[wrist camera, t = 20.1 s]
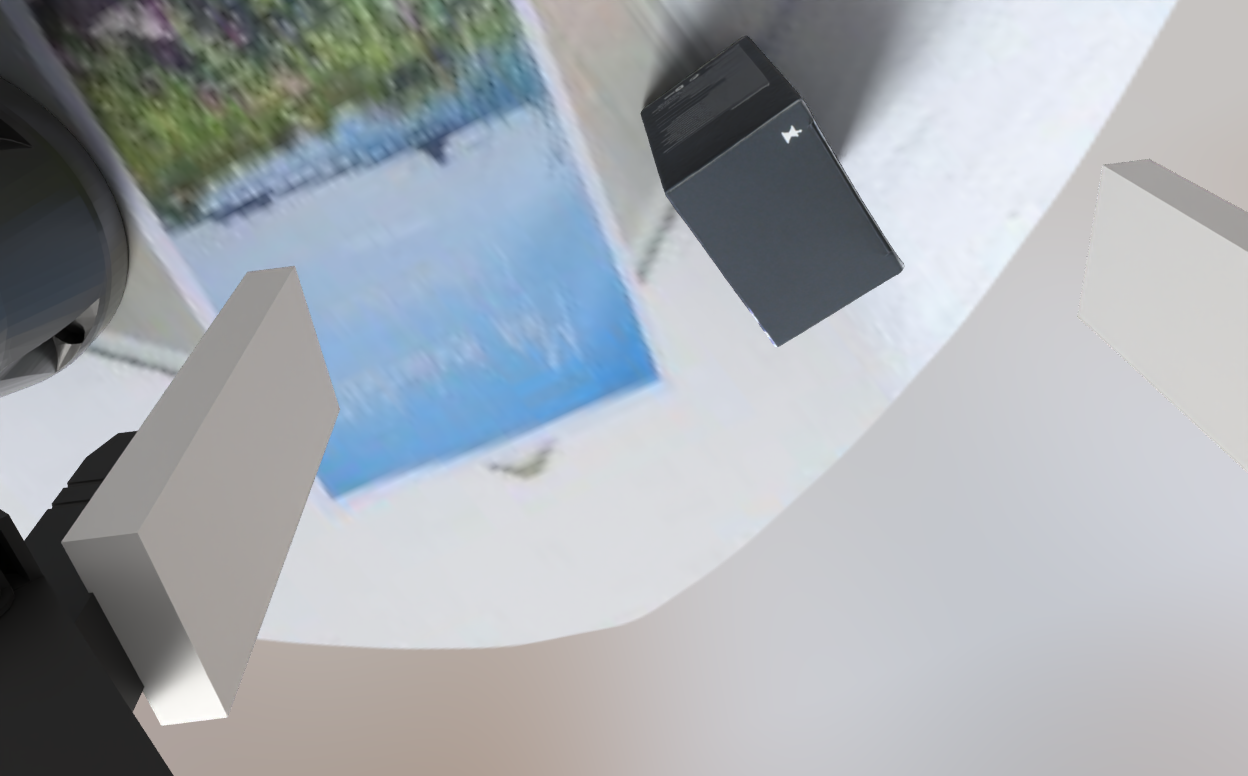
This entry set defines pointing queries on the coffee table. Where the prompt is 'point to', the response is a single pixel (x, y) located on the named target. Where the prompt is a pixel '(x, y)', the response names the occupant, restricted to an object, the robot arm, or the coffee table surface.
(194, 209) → the coffee table surface
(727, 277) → the box
